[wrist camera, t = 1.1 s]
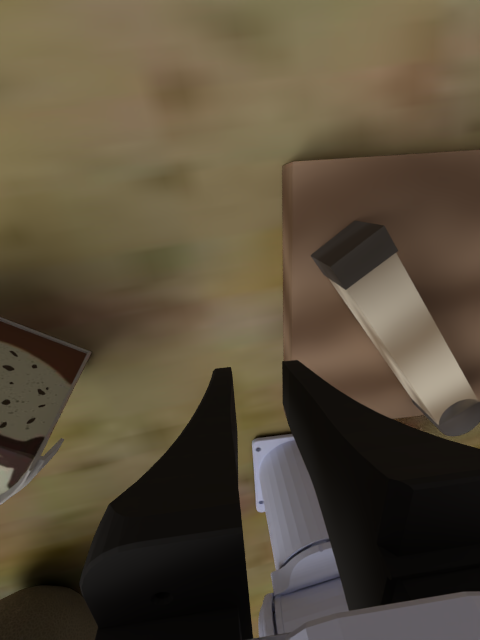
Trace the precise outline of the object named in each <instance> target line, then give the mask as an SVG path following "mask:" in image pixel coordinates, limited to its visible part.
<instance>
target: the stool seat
mask: <svg viewBox="0 0 480 640" xmlns="http://www.w3.org/2000/svg"><path fill="white" fill-rule="evenodd" d="M282 207H283V338H284V361H291V360H298V361H300V362H301V363H302V364H304V365H305V366H306V367H308V368H309V369H310V370H311V371H313V372H314V373H315V374H317V375H318V376H319V377H321V378H322V379H323V380H325V381H326V382H328V383H329V384H330V385H332V386H333V387H335V388H336V389H338V390H339V391H341V392H342V393H344V394H346V395H347V396H349V397H350V398H352V399H354V400H355V401H357V402H359V403H361V404H363V405H364V406H366V407H368V408H370V409H372V410H374V411H376V412H378V413H380V414H382V415H384V416H386V417H389V418H391V419H397V418H405V417H413V416H421V415H424V414H423V413H422V412H421V411H420V410H419V409H418V408H417V407H416V406H415V405H414V404H413V402H412V400H411V397H410V396H409V394H408V393H407V391H406V390H405V389H404V387H403V386H402V384H401V383H400V381H399V380H398V378H397V377H396V376H395V374H394V373H393V371H392V370H391V368H390V367H389V365H388V364H387V362H386V361H385V360H384V358H383V357H382V355H381V354H380V352H379V351H378V349H377V348H376V347H375V345H374V344H373V342H372V341H371V339H370V338H369V336H368V335H367V333H366V332H365V331H364V329H363V328H362V326H361V325H360V323H359V322H358V320H357V319H356V318H355V316H354V315H353V313H352V312H351V310H350V309H349V307H348V306H347V304H346V303H345V302H344V300H343V299H342V297H341V296H340V294H339V293H338V291H337V290H336V289H335V287H334V286H333V284H332V283H331V281H330V280H329V278H327V277H326V276H324V275H323V273H322V272H321V270H320V269H319V267H318V266H317V264H316V263H315V262H314V260H313V259H312V257H311V256H310V255H312V254H313V253H314V252H315V251H317V250H318V249H319V248H320V247H322V246H323V245H324V244H325V243H327V242H328V241H329V240H331V239H332V238H333V237H334V236H336V235H337V234H338V233H339V232H341V231H342V230H343V229H344V228H346V227H347V226H348V225H350V224H351V223H352V222H353V221H360V222H367V223H373V224H379V225H384V226H385V228H386V229H387V231H388V233H389V235H390V237H391V238H392V240H393V242H394V244H395V246H396V247H397V249H398V252H396V254H397V255H398V257H399V259H400V261H401V263H402V264H403V266H404V268H405V270H406V272H407V273H408V275H409V277H410V279H411V281H412V282H413V284H414V286H415V288H416V290H417V291H418V293H419V295H420V297H421V298H422V300H423V302H424V304H425V306H426V307H427V309H428V311H429V313H430V315H431V316H432V318H433V320H434V322H435V324H436V325H437V327H438V329H439V331H440V333H441V334H442V336H443V338H444V340H445V342H446V343H447V345H448V347H449V349H450V351H451V352H452V354H453V356H454V358H455V360H456V361H457V363H458V365H459V367H460V369H461V370H462V372H463V374H464V376H465V378H466V379H467V381H468V383H469V385H470V387H471V388H472V390H473V392H474V394H475V396H476V397H477V399H478V401H479V402H480V150H467V151H451V152H435V153H420V154H404V155H389V156H373V157H357V158H342V159H326V160H311V161H295V162H291V163H288V164H286V165H283V166H282ZM284 412H285V410H284ZM285 415H286V413H285ZM286 418H287V417H286Z"/></svg>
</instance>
